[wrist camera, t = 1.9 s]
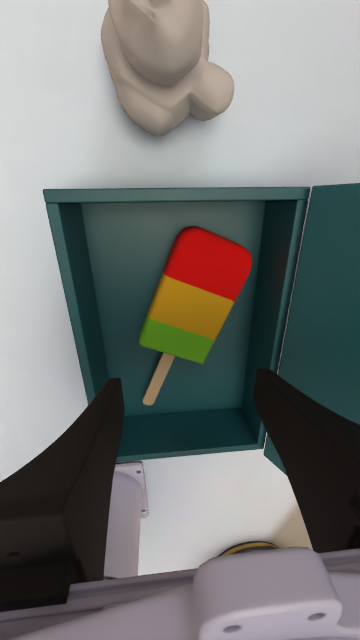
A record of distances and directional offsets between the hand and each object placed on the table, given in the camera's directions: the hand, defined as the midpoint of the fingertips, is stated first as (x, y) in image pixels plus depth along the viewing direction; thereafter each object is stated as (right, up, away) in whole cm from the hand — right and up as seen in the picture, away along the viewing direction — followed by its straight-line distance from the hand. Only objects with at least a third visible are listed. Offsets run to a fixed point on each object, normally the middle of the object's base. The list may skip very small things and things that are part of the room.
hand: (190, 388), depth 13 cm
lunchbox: (-1, +3, +7) cm, 8 cm away
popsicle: (-1, +3, +7) cm, 8 cm away
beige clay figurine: (-1, +17, +1) cm, 17 cm away
